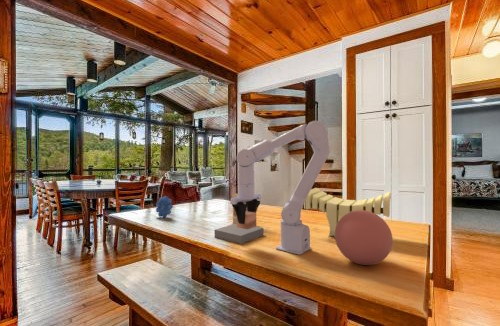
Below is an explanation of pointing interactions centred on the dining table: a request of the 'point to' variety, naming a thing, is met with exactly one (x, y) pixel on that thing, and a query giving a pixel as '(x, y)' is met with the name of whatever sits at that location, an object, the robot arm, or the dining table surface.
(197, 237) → the dining table surface
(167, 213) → the grapes
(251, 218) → the terracotta block
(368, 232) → the matte pink egg
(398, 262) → the dining table surface
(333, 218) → the slatted curved stool
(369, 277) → the dining table surface
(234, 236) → the charcoal plinth
